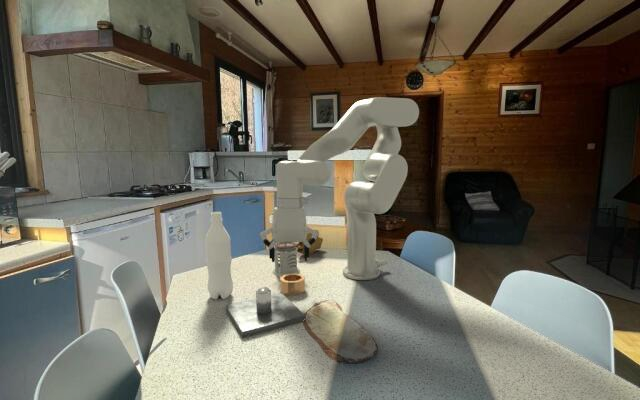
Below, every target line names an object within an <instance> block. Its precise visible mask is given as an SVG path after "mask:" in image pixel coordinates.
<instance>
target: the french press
mask: <svg viewBox="0 0 640 400" xmlns="http://www.w3.org/2000/svg"><path fill="white" fill-rule="evenodd" d="M296 244H297V243H296V242H277V243H276V245H275V246H274V249H275V262H274V269H273V270H272V275H274V276H276V277H282V276H284V275H287V274H301V269H299V267H298V257H297V255H298V252H297V249H298V248H297V247H295V245H296Z"/></svg>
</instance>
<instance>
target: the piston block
mask: <svg viewBox="0 0 640 400" xmlns="http://www.w3.org/2000/svg"><path fill="white" fill-rule="evenodd" d="M271 292H272V290H271V289H270V288H268V287H267V286H266V287H265V286H264V287H262V286H261V287H259V288H258V289H257V290H256V291H255V298H251V299H246V300H243V301H238V302H233V303H229V304H225V311H226V313H227V315H228V316H229V318H230V320H231V321H232V323H233V324H234V326H235V328H236V330H237V331H238V333H239V334H240V336H241V337H242V339H245V338H247V337H252V336H255V335H259V334H262V333H263V334H264V333H265V332H269V331H273V330H277V329H280V328H285V327H289V326H293V325H296V324H300V323H303V322H304V321H303V320H304V319H305V318H306V314H304V312H302V310H300V309H299V308H298V307H297V306H296V305H295V304H294V303H293V302H292V301H291V300H290V299H289V298H288V297H286V295H285V294H282V293H281V292H279V293H273V294H272V293H271Z"/></svg>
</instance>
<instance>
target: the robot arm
mask: <svg viewBox="0 0 640 400" xmlns="http://www.w3.org/2000/svg"><path fill="white" fill-rule="evenodd" d="M419 115H420V109H419V105H418V103H416V101H415V100H413V99H412V98H404V97H401V98H400V97H385V96H383V97H382V96H379V97H376V96H375V97H370V98H366V99H361V100H358V101H356V102H355V103H354V104H352V105H351V107H350V108H349V109H348V110H347V111H346V112H345V113H344V114H343V115H342V117H341V118H340V119H339V121H338V122H336V123H335V125H334V126H333V127H332V129H330V130H329V131H328V132H326V133H325V134H323V136H321V137H320V138H319V139H317V140H316V141H315V142H313V143H312V144H311V145H310V146H309V147H307V148H306V150H304V151H303V153H302V154H301V155H300V156H299V158H297V159H296V160H281V161H278V162H277V164H276V206H275V207H274V208H273V212H272V221H271V222H272V223H271V224H272V225H271V227H269V228H267V229H265V230H264V231H261V232H260V233H259V236H260V239H261V240H262V243H263V244H264V245H266V246H267V248H268V249H269V250H268V252H269V256H268V257H269V259H271V262H272V263H275V245H276V244H277V242H278V243H281V242H292V243H299V242H303V243H304V244H305V245H304V254H302V255H303V260H304V261H305V262H306V261H308V258H310V255H309V247H310V246H311V245H312V244H313V243H314V242H315V240H316V238H317V236H318V234H319V235H320V233H318V232H317V231H315V230H316V229H313V228H311V227H309V226H307V216H306V214H307V213H306V208H305V207H304V205H307V204H308V199H306V198H304V197H303V191H304V190H303V186H312V187H321V186H323V185H325V184H327V183H328V182H329V180H330V178H331V169H330V167H329V165H328V164H326V162H327V161H329V160H331V159H332V158H334V157H336V156H338V155H342V154H344V153H346V152H348V151H350V150H351V149H352V148H353V147H354V146H355V145H356V143H357V142H358V141H359V140H360V139H361V138H362V137H363V135H364V134H365V132H366V131H367V130H368V129H369V128H370V127H371V128H372V127H376V131H377V138H376V140H375V143H374V145H373V147H372V149H371V151H369V154H368V156H367V158H366V159H365V162H364V164H363V166H362V174H363V176H364V178H365V179H367V180H368V181H363V180H357V181H353V182H351V183H350V184H348V186H347V187H346V188H345V191H344V197H343V199H344V205H345V210H346V221H347V222H346V223H347V226H346V227H347V230H346V231H347V233H346V234H347V239H346V242H347V265H346V266H345V267H344V268H343V269H342V274H343V276H345V277H346V278H348V279H352V280H357V281H369V280H375V279H377V278H379V276H380V275H381V270H380V267H382V266H387V265H388V261H387V259H379V258H377V257H376V255H377V254H376V253H377V249H376V248H377V221H376V215H382V214H385V213H386V212H388V211H389V210H390V209H391V208H392V206H393V204H394V202H395V201H396V199H397V196H398V195H399V193H400V191H401V189H402V188H403V185H404V183H405V182H406V179H407V176H408V170H409V169H408V168H409V167H408V166H409V165H408V163H407V161H406V159H405V157H403V156H402V155H400V154H399V152H400V150H401V147H402V138H401V135H400V132H399V128H401V127H403V128H404V127H410V126H412V125H414V123H417V120H418V118H419ZM375 214H376V215H375ZM307 232H309V233H311V234H313V235H312V237H311V238H310V239H309V240H308V241H307V240H306V239H307ZM270 234H271V238H272V239H271V240H269V239H267V238H268V237H266V236H268V235H270ZM318 237H319V236H318Z"/></svg>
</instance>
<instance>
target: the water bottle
mask: <svg viewBox="0 0 640 400" xmlns="http://www.w3.org/2000/svg"><path fill="white" fill-rule="evenodd" d="M222 215H223V214H222V212H221V211H212V212H210V220H209V222H210V227H209V229H208V231H207V233H206V235H205V237H204V246H205V264H206V268H207V271H208V273H207V274H208V279H207V292H208V293H209V294H208V295H209V296H210V297H211V299H213V300H216V301H217V300H218V299H219V296H220V297H221V299H222V300H226V299H227V298H228V297H230V296H231V295H232V293H233V291H234V282H233V277H232V269H231V266H232V259H233V258H232V251H231V250H232V249H231V248H232V247H231V241H232V240H231V237H230V234H229V233H228V231H227V230H226V228H225V226H224V223H223V220H224V219H223V217H222Z"/></svg>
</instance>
